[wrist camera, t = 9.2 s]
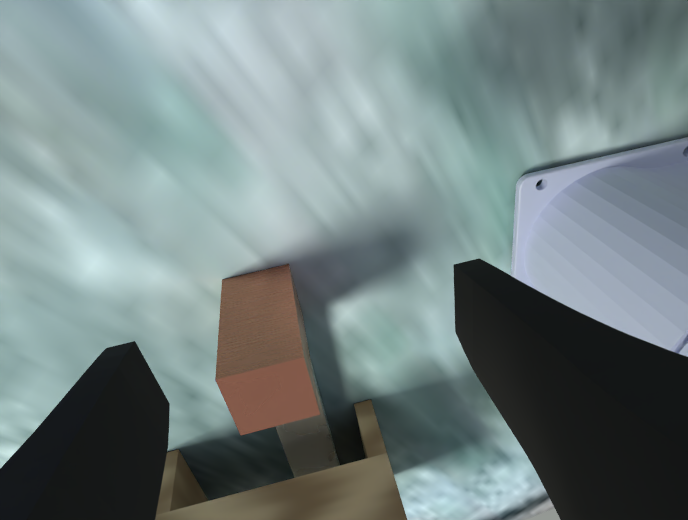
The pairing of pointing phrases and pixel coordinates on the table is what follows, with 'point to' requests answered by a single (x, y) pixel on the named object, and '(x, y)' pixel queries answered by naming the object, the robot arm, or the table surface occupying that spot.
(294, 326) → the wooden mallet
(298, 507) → the wooden bridge block
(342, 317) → the table surface
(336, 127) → the table surface
